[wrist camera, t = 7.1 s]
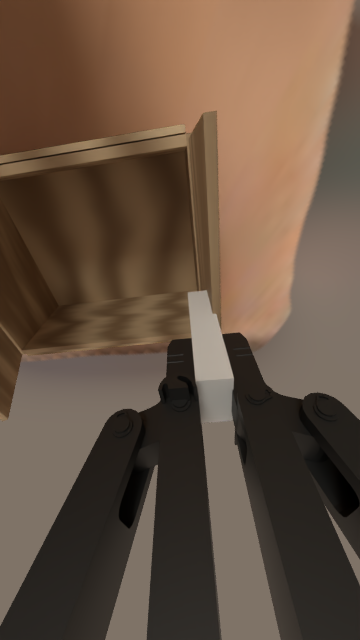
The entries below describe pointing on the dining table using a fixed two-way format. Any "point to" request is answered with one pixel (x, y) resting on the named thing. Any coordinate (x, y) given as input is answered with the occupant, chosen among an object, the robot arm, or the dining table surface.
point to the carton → (98, 243)
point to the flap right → (206, 205)
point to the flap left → (7, 373)
